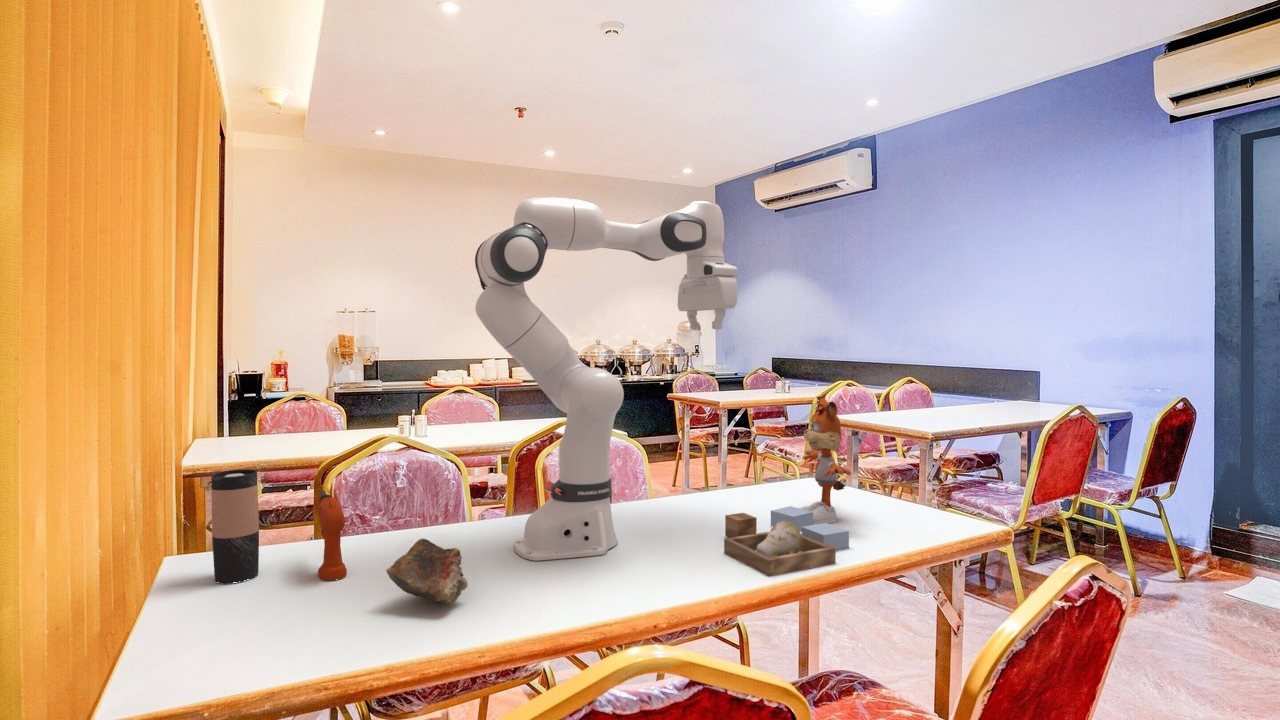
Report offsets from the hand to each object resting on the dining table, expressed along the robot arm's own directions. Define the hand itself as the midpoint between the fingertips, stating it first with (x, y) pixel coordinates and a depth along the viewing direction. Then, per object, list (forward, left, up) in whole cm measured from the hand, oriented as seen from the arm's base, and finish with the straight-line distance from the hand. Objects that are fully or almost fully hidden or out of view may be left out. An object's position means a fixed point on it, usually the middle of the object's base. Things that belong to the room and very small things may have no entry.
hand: (705, 329), depth 160 cm
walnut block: (+2, -12, -47) cm, 49 cm away
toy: (+29, -8, -47) cm, 56 cm away
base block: (+15, -25, -48) cm, 56 cm away
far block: (+18, -10, -48) cm, 52 cm away
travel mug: (-98, +10, -47) cm, 109 cm away
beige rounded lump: (+1, -27, -48) cm, 55 cm away
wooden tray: (+1, -27, -47) cm, 54 cm away
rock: (-66, -20, -48) cm, 83 cm away
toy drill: (-82, +8, -47) cm, 95 cm away
